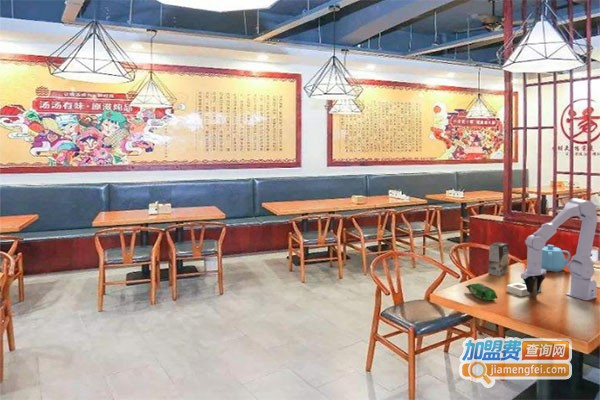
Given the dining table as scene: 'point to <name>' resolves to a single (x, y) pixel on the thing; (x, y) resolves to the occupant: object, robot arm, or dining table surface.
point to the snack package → (482, 291)
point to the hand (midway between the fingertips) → (533, 291)
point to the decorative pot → (553, 259)
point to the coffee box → (498, 258)
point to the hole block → (519, 289)
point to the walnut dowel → (534, 291)
